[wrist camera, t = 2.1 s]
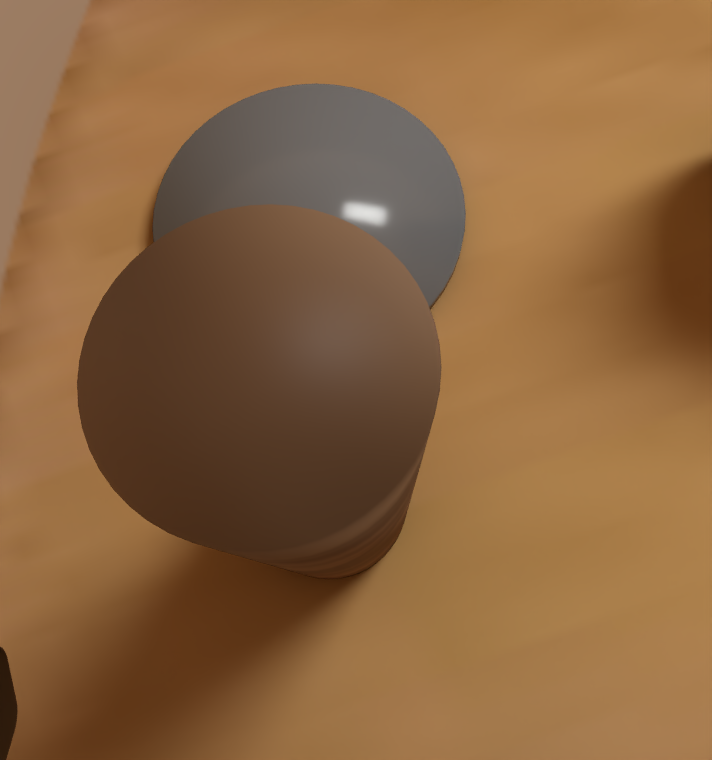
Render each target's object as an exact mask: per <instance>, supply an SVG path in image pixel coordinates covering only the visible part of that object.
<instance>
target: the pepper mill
mask: <svg viewBox="0 0 712 760" xmlns="http://www.w3.org/2000/svg"><path fill="white" fill-rule="evenodd" d="M440 379H441V357H440V344H439V340H438V335H437V330H436V326H435V322H434V319H433V316H432V314H431V311H430V308H429V305H428V303H427V301H426V299H425V297H424V295H423V293H422V291H421V289H420V288H419V286H418V284H417V282H416V281H415V279H414V278H413V277H412V275H411V274H410V273H409V271H408V270H407V268H406V267H405V266H404V265H403V263H402V262H401V261H400V260H399V259H398V258H397V257H396V256H395V255H394V254H393V253H392V252H391V251H390V250H389V249H388V248H387V247H385V246H384V245H383V244H382V243H380V242H379V241H378V240H377V239H375V238H374V237H373V236H371V235H370V234H368V233H367V232H365V231H363V230H362V229H360V228H358V227H357V226H355V225H353V224H351V223H349V222H347V221H344V220H342V219H340V218H338V217H336V216H333V215H329V214H326V213H323V212H320V211H317V210H313V209H308V208H302V207H297V206H289V205H274V204H267V205H248V206H242V207H236V208H230V209H225V210H222V211H218V212H215V213H211V214H208V215H205V216H202V217H200V218H197V219H195V220H193V221H190V222H188V223H185V224H183V225H182V226H180V227H178V228H176V229H174V230H172V231H171V232H169V233H167V234H165V235H164V236H162V237H161V238H160V239H158V240H157V241H155V242H154V243H153V244H151V245H150V246H148V247H147V248H146V249H145V250H144V251H142V252H141V253H140V254H139V255H138V256H137V257H136V258H135V259H134V260H132V261H131V262H130V263H129V264H128V266H127V267H126V268H125V269H124V270H123V271H122V272H121V274H120V275H119V276H118V277H117V278H116V279H115V281H114V282H113V284H112V285H111V286H110V288H109V289H108V291H107V292H106V294H105V295H104V297H103V298H102V300H101V302H100V304H99V306H98V308H97V310H96V311H95V313H94V315H93V317H92V320H91V322H90V325H89V328H88V330H87V333H86V336H85V339H84V343H83V347H82V351H81V356H80V360H79V370H78V380H77V390H78V407H79V413H80V419H81V424H82V429H83V432H84V435H85V438H86V441H87V444H88V447H89V450H90V452H91V454H92V456H93V458H94V460H95V462H96V464H97V466H98V467H99V469H100V471H101V472H102V474H103V475H104V477H105V478H106V480H107V481H108V482H109V484H110V485H111V487H112V488H113V489H114V491H115V492H116V493H117V494H118V495H119V496H120V497H121V498H122V499H123V500H124V501H125V502H126V503H127V504H128V505H129V506H130V507H131V508H132V509H133V510H135V511H136V512H137V513H139V514H140V515H141V516H142V517H144V518H145V519H146V520H147V521H149V522H151V523H152V524H154V525H156V526H158V527H159V528H161V529H163V530H165V531H166V532H168V533H170V534H172V535H175V536H177V537H180V538H182V539H185V540H187V541H190V542H192V543H196V544H199V545H203V546H206V547H209V548H213V549H216V550H220V551H223V552H227V553H230V554H234V555H237V556H241V557H244V558H248V559H251V560H255V561H258V562H262V563H265V564H269V565H272V566H276V567H279V568H282V569H286V570H289V571H293V572H296V573H300V574H303V575H307V576H311V577H315V578H323V579H338V578H344V577H348V576H352V575H355V574H358V573H360V572H362V571H364V570H366V569H368V568H369V567H371V566H373V565H374V564H376V563H377V562H378V561H379V560H380V559H381V558H383V557H384V556H385V555H386V553H387V552H388V551H389V550H390V549H391V547H392V546H393V544H394V543H395V542H396V540H397V538H398V536H399V534H400V532H401V529H402V527H403V524H404V521H405V517H406V514H407V510H408V507H409V503H410V500H411V496H412V493H413V489H414V486H415V482H416V479H417V475H418V472H419V468H420V464H421V461H422V457H423V454H424V450H425V447H426V443H427V440H428V436H429V433H430V429H431V426H432V422H433V419H434V415H435V411H436V406H437V401H438V397H439V392H440Z"/></svg>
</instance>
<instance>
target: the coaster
mask: <svg viewBox="0 0 712 760" xmlns="http://www.w3.org/2000/svg"><path fill="white" fill-rule="evenodd" d="M267 204H274V205H289V206H297V207H302V208H308V209H313V210H317V211H320V212H323V213H326V214H329V215H333V216H336V217H338V218H340V219H342V220H344V221H347V222H349V223H351V224H353V225H355V226H357V227H358V228H360V229H362V230H363V231H365V232H367V233H368V234H370V235H371V236H373V237H374V238H375V239H377V240H378V241H379V242H380V243H382V244H383V245H384V246H385V247H387V248H388V249H389V250H390V251H391V252H392V253H393V254H394V255H395V256H396V257H397V258H398V259H399V260H400V261H401V262H402V263H403V265H404V266H405V267H406V268H407V270H408V271H409V273H410V274H411V275H412V277H413V278H414V279H415V281H416V282H417V284H418V286H419V288H420V289H421V291H422V293H423V295H424V297H425V299H426V301H427V303H428V305H429V308H430V309H431V308H432V307H433V305H434V304H435V302H436V301H437V300H438V298H439V297H440V296H441V294H442V293H443V292H444V290H445V288H446V286H447V284H448V282H449V280H450V279H451V277H452V275H453V272H454V270H455V267H456V264H457V261H458V259H459V255H460V251H461V246H462V241H463V236H464V231H465V203H464V194H463V190H462V186H461V182H460V178H459V176H458V173H457V171H456V168H455V166H454V164H453V161H452V160H451V158H450V156H449V154H448V153H447V151H446V149H445V148H444V146H443V145H442V144H441V142H440V141H439V140H438V139H437V137H436V136H435V135H434V134H433V132H432V131H431V130H430V129H429V128H427V127H426V126H425V125H424V124H423V123H422V122H421V121H420V120H419V119H418V118H416V117H415V116H414V115H412V114H411V113H410V112H408V111H407V110H405V109H404V108H402V107H400V106H399V105H397V104H395V103H393V102H391V101H390V100H387V99H385V98H383V97H380V96H378V95H375V94H373V93H370V92H366V91H363V90H359V89H356V88H351V87H345V86H339V85H330V84H302V85H292V86H286V87H280V88H276V89H272V90H268V91H265V92H261V93H258V94H255V95H253V96H250V97H248V98H245V99H243V100H241V101H239V102H237V103H235V104H233V105H231V106H229V107H227V108H225V109H224V110H222V111H221V112H219V113H218V114H217V115H215V116H214V117H212V118H211V119H209V120H208V121H207V122H206V123H205V124H203V125H202V126H201V127H200V128H199V129H198V130H197V131H195V132H194V134H193V135H192V136H191V137H190V138H189V139H188V140H187V141H186V142H185V143H184V144H183V146H182V147H181V149H180V150H179V151H178V153H177V154H176V156H175V157H174V158H173V160H172V162H171V164H170V165H169V167H168V169H167V171H166V173H165V175H164V177H163V180H162V183H161V185H160V188H159V191H158V194H157V198H156V203H155V208H154V216H153V240H154V242H155V241H157V240H158V239H160V238H161V237H162V236H164V235H165V234H167V233H169V232H171V231H172V230H174V229H176V228H178V227H180V226H182V225H183V224H185V223H188V222H190V221H193V220H195V219H197V218H200V217H202V216H205V215H208V214H211V213H215V212H218V211H222V210H225V209H230V208H236V207H242V206H248V205H267Z"/></svg>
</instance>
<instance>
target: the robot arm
mask: <svg viewBox="0 0 712 760" xmlns="http://www.w3.org/2000/svg"><path fill="white" fill-rule="evenodd" d="M16 721H17V701H16V696H15V692H14V687H13V682H12V678H11V673H10V668H9V663H8V659H7V655H6V653H5V651H4V649H3V648H2V647H0V760H6V758H7V755H8V751H9V748H10V745H11V741H12V738H13V734H14V731H15V727H16Z"/></svg>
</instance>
